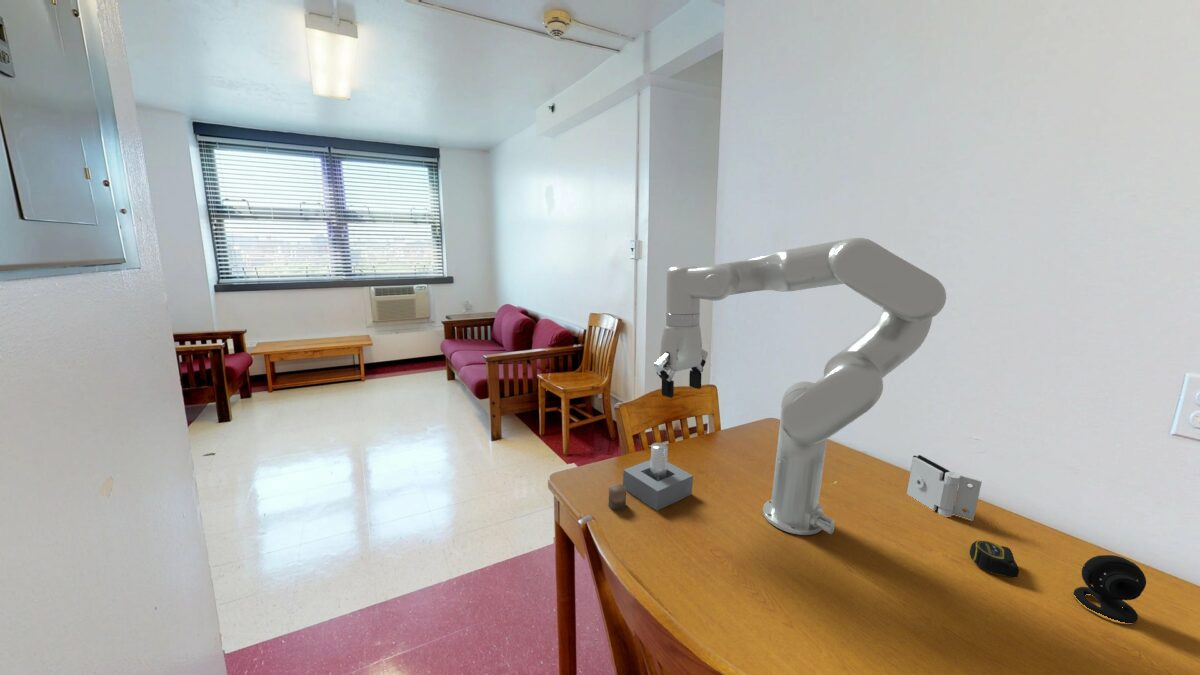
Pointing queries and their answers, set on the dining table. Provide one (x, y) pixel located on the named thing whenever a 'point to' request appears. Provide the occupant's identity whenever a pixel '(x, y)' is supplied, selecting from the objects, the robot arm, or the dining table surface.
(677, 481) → the hole block
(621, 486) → the walnut pin
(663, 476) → the steel pin
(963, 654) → the dining table surface
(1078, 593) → the webcam
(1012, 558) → the tape measure
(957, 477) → the hinge
